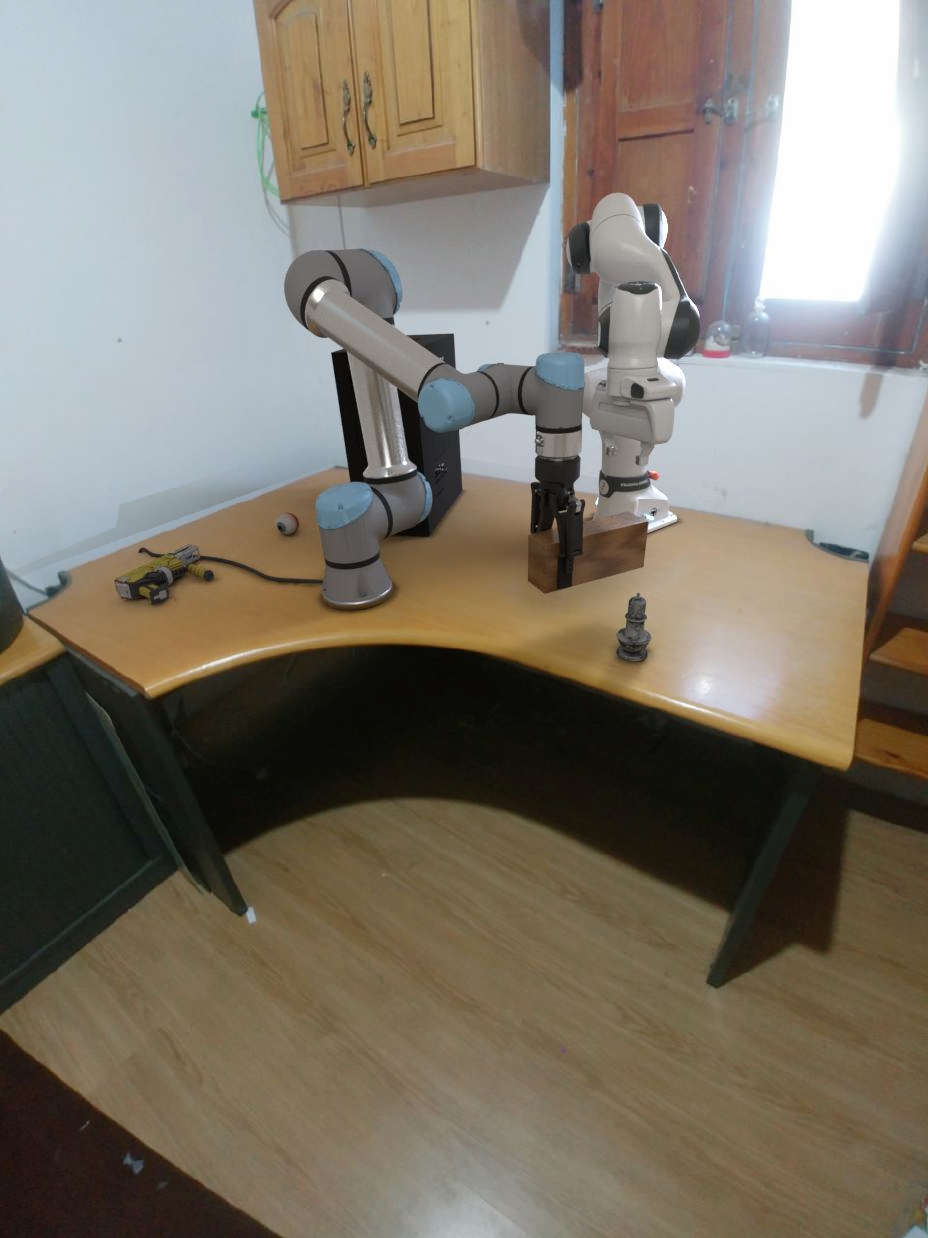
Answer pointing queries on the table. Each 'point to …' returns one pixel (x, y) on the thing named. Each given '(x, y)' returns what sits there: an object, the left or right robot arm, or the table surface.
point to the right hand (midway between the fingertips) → (625, 460)
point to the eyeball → (287, 523)
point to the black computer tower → (407, 436)
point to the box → (590, 551)
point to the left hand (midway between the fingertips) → (554, 580)
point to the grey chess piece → (634, 631)
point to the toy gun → (160, 575)
